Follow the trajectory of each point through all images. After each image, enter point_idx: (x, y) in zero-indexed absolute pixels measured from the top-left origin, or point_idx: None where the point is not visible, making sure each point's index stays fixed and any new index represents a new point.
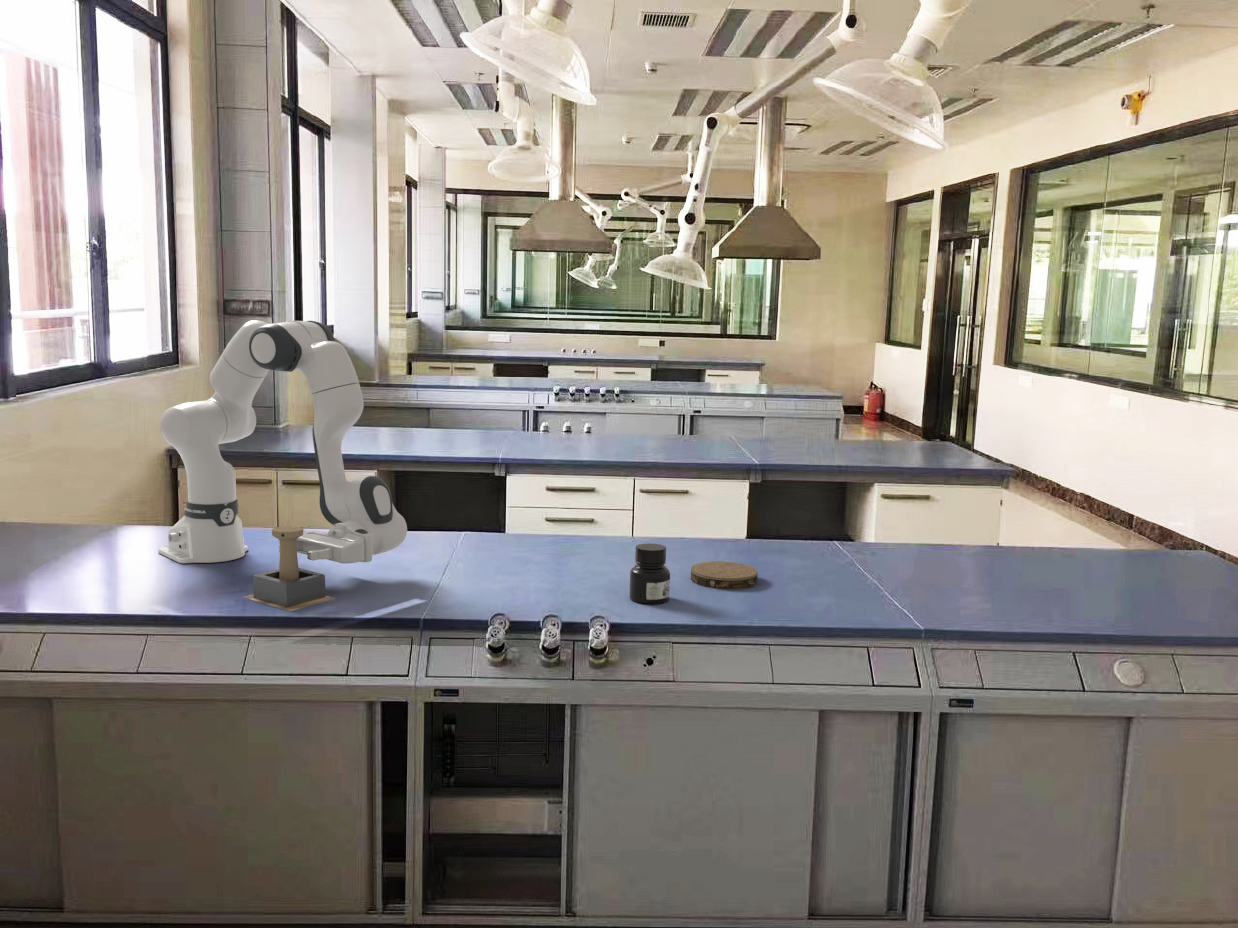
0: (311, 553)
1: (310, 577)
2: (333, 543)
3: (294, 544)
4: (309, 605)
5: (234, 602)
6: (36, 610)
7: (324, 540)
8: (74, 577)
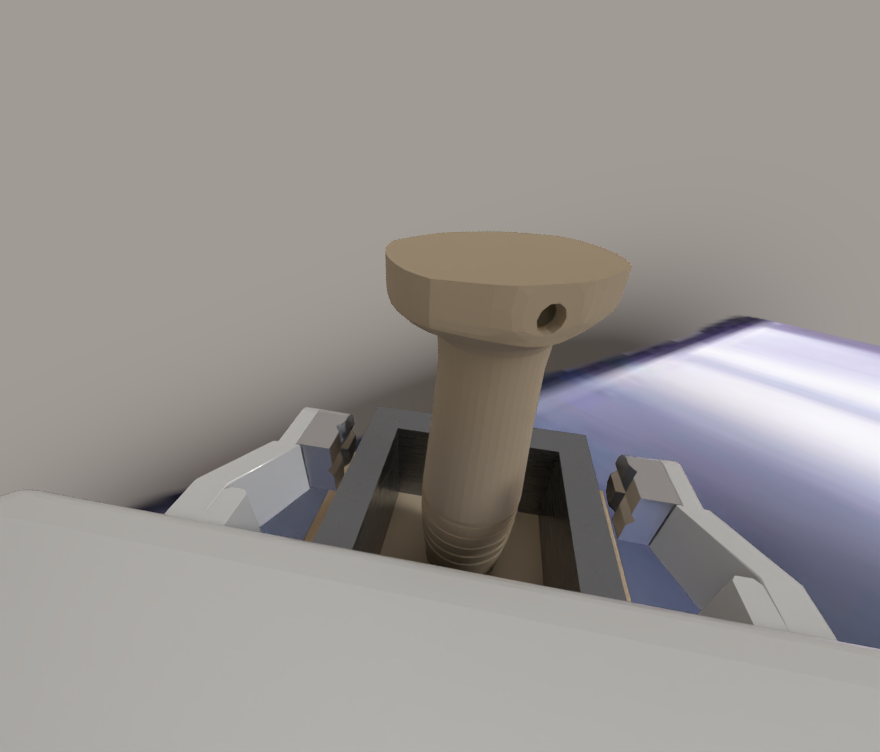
0: (313, 409)
1: (340, 509)
2: (143, 576)
3: (438, 355)
4: (318, 518)
5: (603, 484)
6: (766, 331)
7: (345, 670)
8: None
